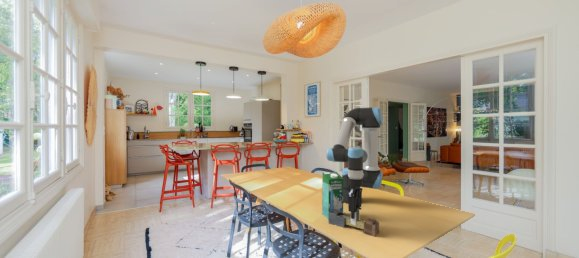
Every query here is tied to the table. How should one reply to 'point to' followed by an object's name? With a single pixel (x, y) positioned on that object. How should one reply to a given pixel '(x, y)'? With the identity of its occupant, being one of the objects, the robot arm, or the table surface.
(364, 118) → the robot arm
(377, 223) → the socket
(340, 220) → the sleeve
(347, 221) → the slip tube
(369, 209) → the table surface
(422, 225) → the table surface
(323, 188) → the milk carton
